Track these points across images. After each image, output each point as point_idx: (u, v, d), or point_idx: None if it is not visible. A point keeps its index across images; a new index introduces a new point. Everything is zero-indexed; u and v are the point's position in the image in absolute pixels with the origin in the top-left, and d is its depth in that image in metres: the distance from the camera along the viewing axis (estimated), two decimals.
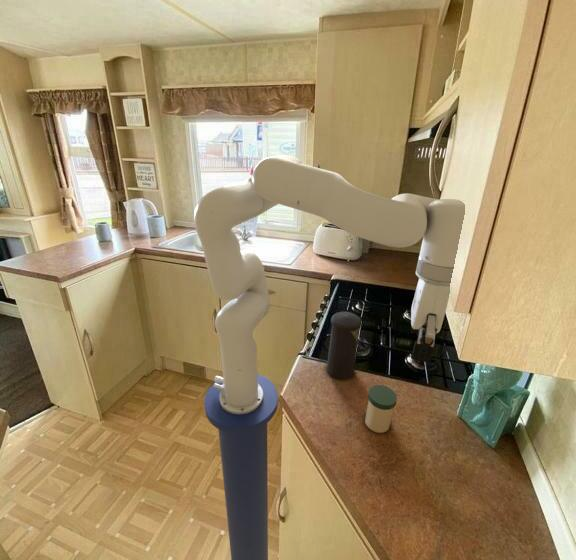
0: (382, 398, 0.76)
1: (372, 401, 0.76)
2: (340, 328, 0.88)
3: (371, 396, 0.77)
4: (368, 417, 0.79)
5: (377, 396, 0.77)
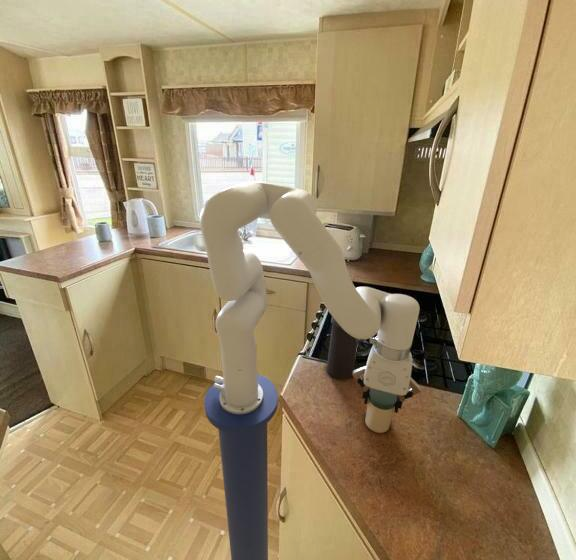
0: (382, 398, 0.76)
1: (372, 401, 0.76)
2: (340, 328, 0.88)
3: (371, 396, 0.77)
4: (368, 417, 0.79)
5: (377, 396, 0.77)
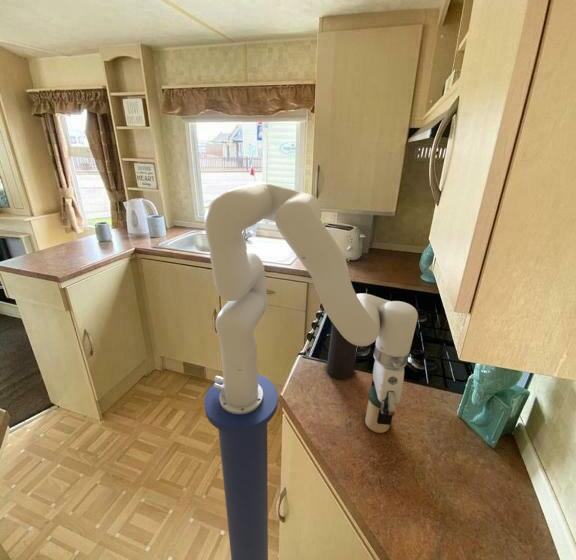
0: None
1: None
2: None
3: None
4: (368, 417, 0.79)
5: None
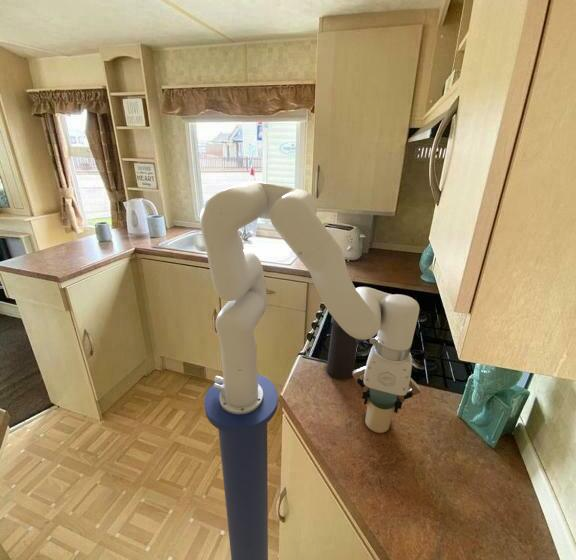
0: (388, 394, 0.77)
1: (395, 403, 0.76)
2: (340, 328, 0.88)
3: (391, 402, 0.75)
4: (368, 417, 0.79)
5: (388, 398, 0.76)
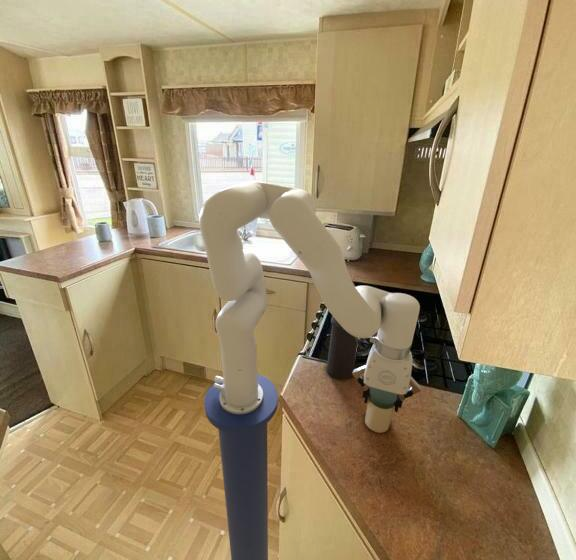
0: None
1: None
2: (340, 328, 0.88)
3: None
4: (368, 418, 0.79)
5: None
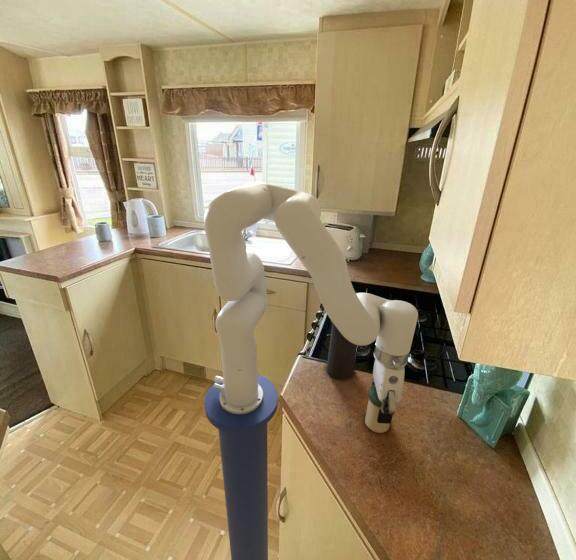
0: None
1: (368, 392, 0.78)
2: None
3: (370, 388, 0.79)
4: (368, 418, 0.79)
5: (376, 391, 0.78)
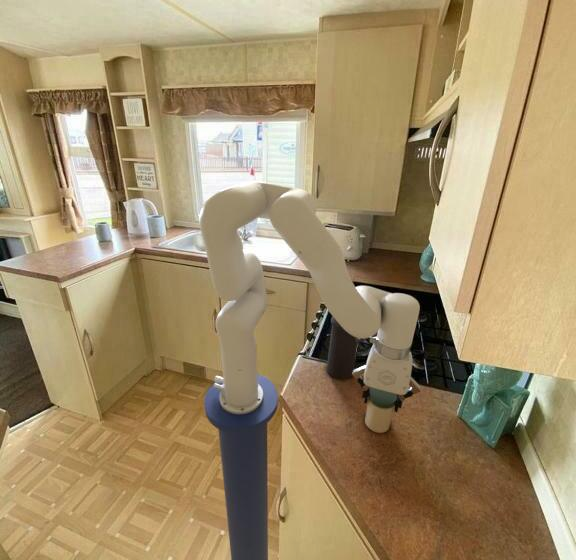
0: (378, 395, 0.77)
1: None
2: (340, 328, 0.88)
3: (370, 388, 0.79)
4: (368, 418, 0.79)
5: (376, 391, 0.78)
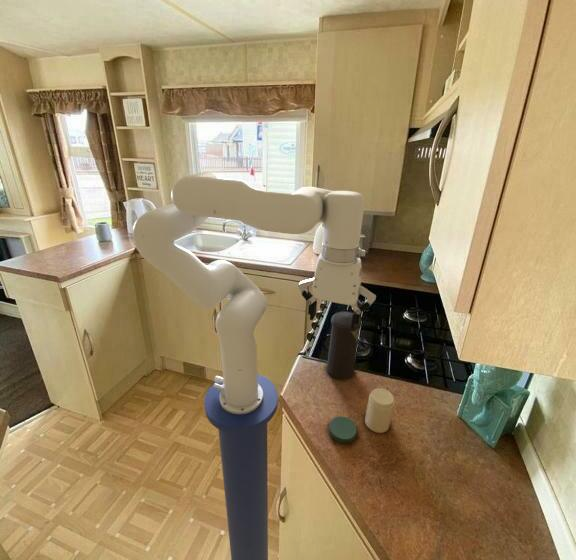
0: (347, 425, 0.79)
1: (356, 431, 0.78)
2: (340, 328, 0.88)
3: (354, 432, 0.77)
4: (368, 418, 0.79)
5: (349, 429, 0.78)
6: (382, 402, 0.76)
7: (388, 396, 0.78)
